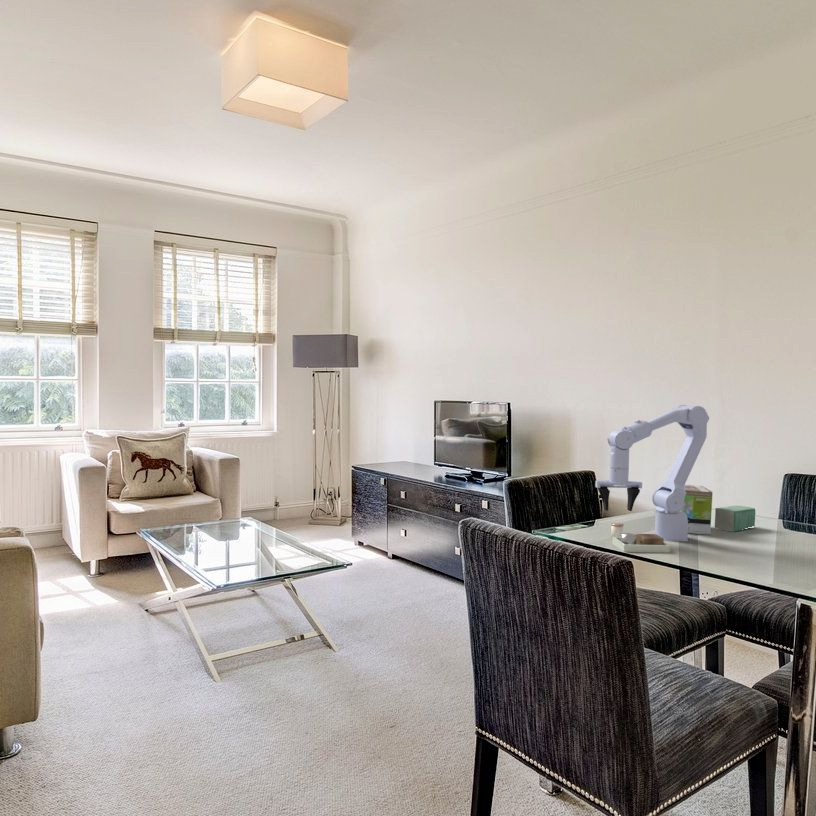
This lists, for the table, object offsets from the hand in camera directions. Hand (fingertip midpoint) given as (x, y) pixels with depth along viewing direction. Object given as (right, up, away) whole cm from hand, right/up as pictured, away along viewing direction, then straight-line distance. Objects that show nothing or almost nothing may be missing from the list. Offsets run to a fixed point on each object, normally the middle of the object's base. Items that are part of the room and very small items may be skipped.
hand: (617, 510), depth 217 cm
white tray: (+3, -10, -11) cm, 16 cm away
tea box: (+31, -10, +19) cm, 38 cm away
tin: (0, -10, -12) cm, 15 cm away
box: (+48, -10, +22) cm, 54 cm away
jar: (0, -9, 0) cm, 9 cm away
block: (+6, -10, -11) cm, 16 cm away
